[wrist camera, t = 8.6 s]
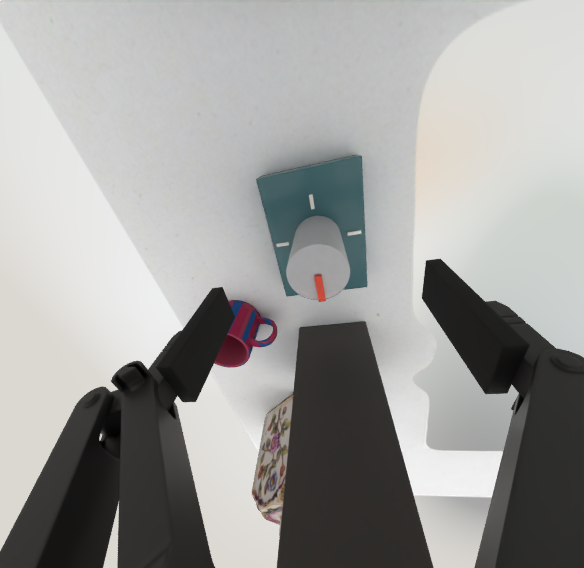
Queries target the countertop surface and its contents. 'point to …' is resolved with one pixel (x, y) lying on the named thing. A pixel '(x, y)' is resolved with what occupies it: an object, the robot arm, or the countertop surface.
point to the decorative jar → (273, 462)
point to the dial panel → (317, 209)
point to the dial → (318, 260)
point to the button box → (345, 462)
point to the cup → (243, 335)
